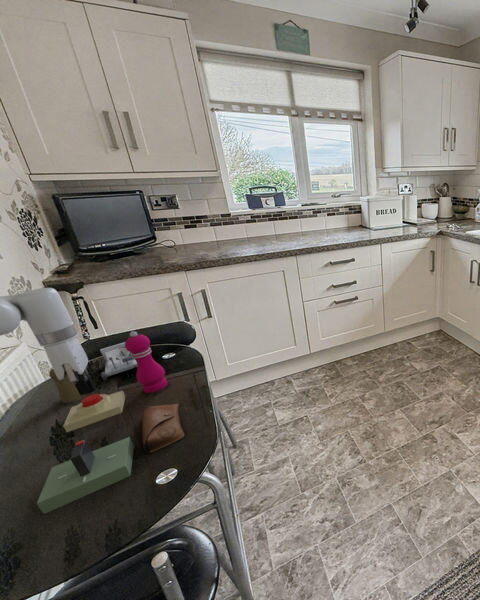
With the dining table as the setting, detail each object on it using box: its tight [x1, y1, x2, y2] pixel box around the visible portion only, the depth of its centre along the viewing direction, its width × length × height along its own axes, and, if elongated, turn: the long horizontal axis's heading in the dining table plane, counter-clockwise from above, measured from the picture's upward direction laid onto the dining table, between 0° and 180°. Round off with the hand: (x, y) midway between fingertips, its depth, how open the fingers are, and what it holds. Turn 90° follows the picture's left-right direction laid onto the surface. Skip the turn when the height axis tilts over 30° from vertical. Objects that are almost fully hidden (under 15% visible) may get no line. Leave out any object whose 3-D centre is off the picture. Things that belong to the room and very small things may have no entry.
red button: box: [80, 393, 102, 407], centre depth 93 cm, size 4×4×2 cm
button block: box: [62, 390, 126, 433], centre depth 94 cm, size 12×10×4 cm
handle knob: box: [69, 439, 95, 476], centre depth 71 cm, size 6×2×5 cm, turn 34°
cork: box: [48, 368, 85, 404], centre depth 102 cm, size 6×6×11 cm
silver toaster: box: [99, 341, 138, 381], centre depth 117 cm, size 18×10×12 cm
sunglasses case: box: [141, 403, 185, 453], centre depth 86 cm, size 18×7×7 cm
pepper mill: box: [125, 330, 168, 394], centre depth 102 cm, size 7×7×20 cm
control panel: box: [36, 436, 135, 515], centre depth 72 cm, size 14×11×3 cm
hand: (88, 391), depth 92 cm, fingers closed
